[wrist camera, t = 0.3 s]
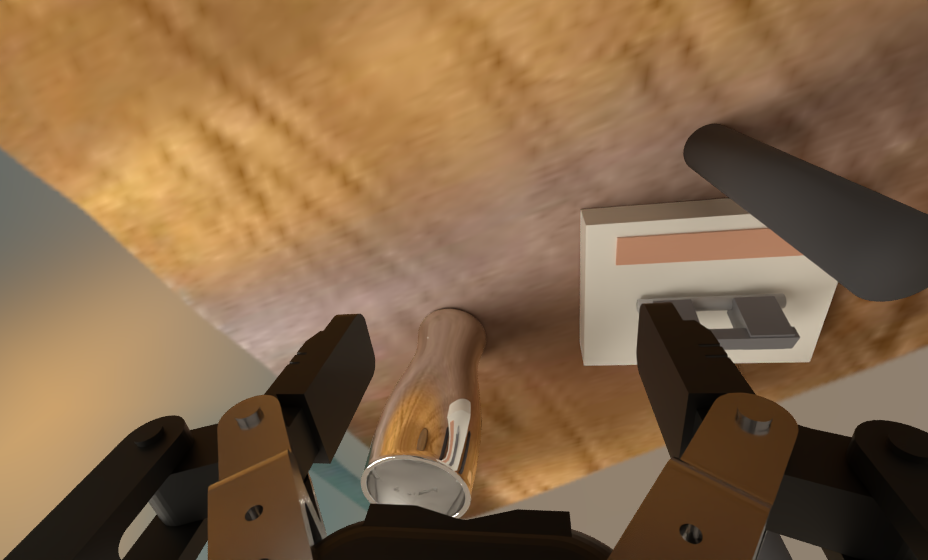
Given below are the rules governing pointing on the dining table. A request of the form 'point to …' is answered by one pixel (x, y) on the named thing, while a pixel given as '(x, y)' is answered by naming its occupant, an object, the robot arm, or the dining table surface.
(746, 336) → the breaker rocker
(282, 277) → the dining table surface
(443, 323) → the beer glass
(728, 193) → the cable post near arm
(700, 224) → the breaker panel
